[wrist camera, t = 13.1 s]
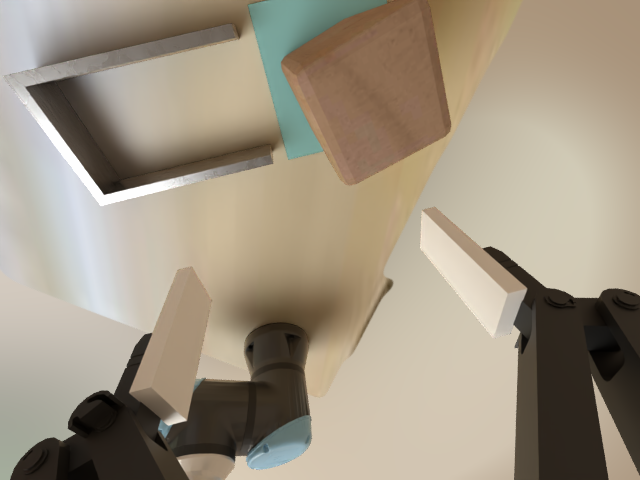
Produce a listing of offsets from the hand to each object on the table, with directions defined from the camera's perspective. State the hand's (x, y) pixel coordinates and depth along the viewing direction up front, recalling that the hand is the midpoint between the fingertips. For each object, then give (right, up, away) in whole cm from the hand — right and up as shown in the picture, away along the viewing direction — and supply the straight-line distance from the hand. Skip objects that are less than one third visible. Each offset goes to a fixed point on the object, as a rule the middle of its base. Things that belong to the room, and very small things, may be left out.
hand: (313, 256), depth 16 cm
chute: (-19, +17, +20) cm, 32 cm away
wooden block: (+2, +22, +21) cm, 30 cm away
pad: (+2, +22, +21) cm, 30 cm away
